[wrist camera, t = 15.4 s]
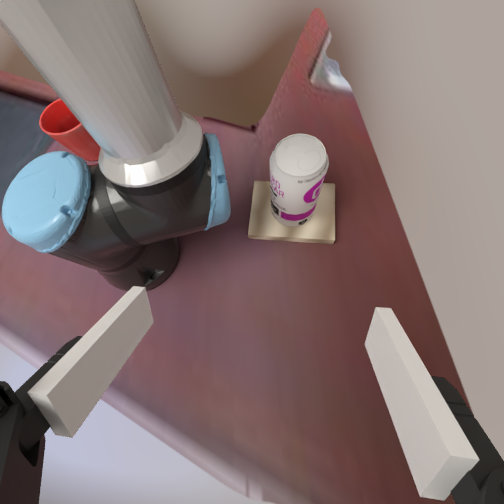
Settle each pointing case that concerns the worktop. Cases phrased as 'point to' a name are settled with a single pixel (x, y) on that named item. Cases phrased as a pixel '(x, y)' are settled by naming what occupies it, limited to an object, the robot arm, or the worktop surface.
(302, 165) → the supplement can
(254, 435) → the worktop surface
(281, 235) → the birch board
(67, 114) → the flower pot
